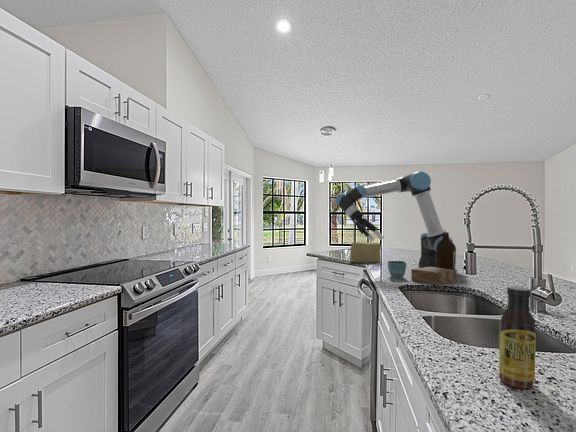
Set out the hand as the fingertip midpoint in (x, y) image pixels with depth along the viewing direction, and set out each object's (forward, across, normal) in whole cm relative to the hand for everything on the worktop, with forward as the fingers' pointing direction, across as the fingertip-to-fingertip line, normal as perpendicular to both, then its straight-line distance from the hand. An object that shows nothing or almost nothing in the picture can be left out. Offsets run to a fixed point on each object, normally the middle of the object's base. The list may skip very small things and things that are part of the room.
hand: (377, 239), depth 202 cm
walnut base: (+37, -2, +7) cm, 37 cm away
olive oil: (+38, -23, +8) cm, 45 cm away
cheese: (-8, -52, -38) cm, 65 cm away
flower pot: (+23, 0, -7) cm, 24 cm away
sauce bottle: (+70, +105, +39) cm, 132 cm away
